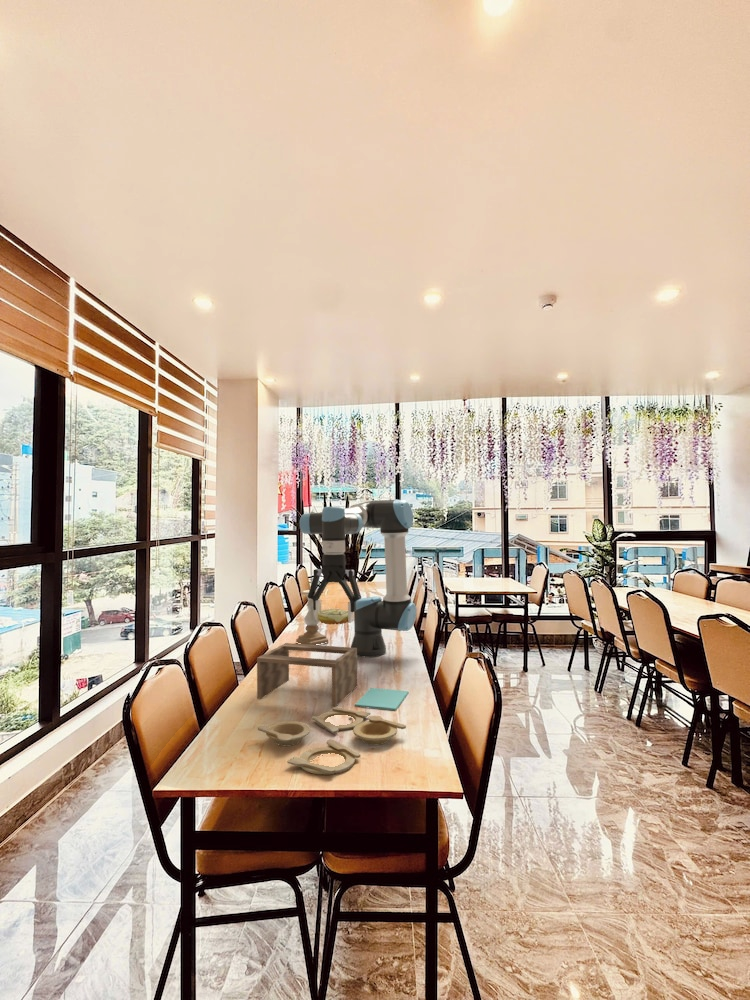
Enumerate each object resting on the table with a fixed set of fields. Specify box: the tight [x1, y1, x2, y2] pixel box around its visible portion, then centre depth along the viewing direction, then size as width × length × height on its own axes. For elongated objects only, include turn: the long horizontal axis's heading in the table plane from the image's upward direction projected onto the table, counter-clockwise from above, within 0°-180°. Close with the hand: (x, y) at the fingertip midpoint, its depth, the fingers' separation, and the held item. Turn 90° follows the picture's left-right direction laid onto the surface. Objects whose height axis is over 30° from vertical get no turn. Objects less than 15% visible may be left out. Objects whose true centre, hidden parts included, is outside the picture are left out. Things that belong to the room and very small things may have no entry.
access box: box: [256, 642, 358, 707], centre depth 173 cm, size 20×27×13 cm
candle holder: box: [295, 589, 329, 645], centre depth 240 cm, size 11×11×24 cm
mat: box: [354, 687, 409, 711], centre depth 165 cm, size 16×13×1 cm
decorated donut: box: [318, 608, 348, 625], centre depth 171 cm, size 10×11×4 cm
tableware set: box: [256, 706, 407, 775], centre depth 136 cm, size 35×29×4 cm
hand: (334, 621), depth 171 cm, fingers closed on decorated donut, 11 cm apart
